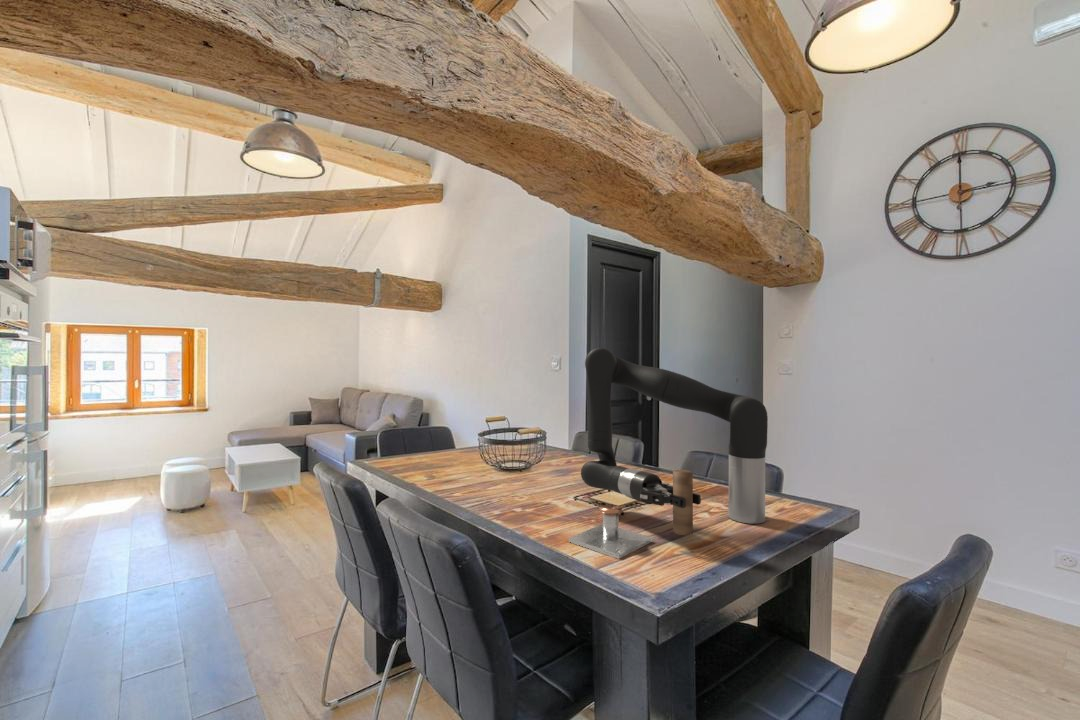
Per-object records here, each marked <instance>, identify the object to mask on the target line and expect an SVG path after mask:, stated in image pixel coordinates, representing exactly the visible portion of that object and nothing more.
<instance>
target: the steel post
mask: <svg viewBox="0 0 1080 720" xmlns="http://www.w3.org/2000/svg"><path fill="white" fill-rule="evenodd" d="M599 511H600V512H601V513H602V524H600V525H597V526H594V527H592V528H590V529H586V530H585V531H582V532H580V533H577V534H575V535H573V536H570V537H569V538H568V543H570V542H571V543H570V544H573V543H574V544H573V545H576V544H577V546H579V545H580V546H579V547H582V546H583V547H582V548H585V547H586V548H585V549H588V548H589V549H588V550H591V549H592V550H591V551H594V550H595V552H596V553H600V554H603V555H606V556H608V557H612V558H615V559H618V560H619V559H622V558H623V557H625V556H627V555H629V554H631V553H632V552H636V551H637V550H638V549H640V548H643V547H645V546H646V545H648V544H650V543H652V542H653V537H652V536H649V535H645V534H642V533H639V532H638V533H637V532H635V531H631V530H628V529H624V528H620V527H619V514H621V513H623V507H621V506H620V505H615V504H603V505H600V506H599Z"/></svg>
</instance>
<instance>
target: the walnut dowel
mask: <svg viewBox="0 0 1080 720" xmlns="http://www.w3.org/2000/svg"><path fill="white" fill-rule="evenodd" d="M693 474H694V472H693V471H691V470H687V469H675V470H672V485H673V495H676V496H680V497H683V498H685V499H686V507H685V508H681V507H678V506H675V505H672V510H673V511H672V516H673V518H672V526H673V527H672V529H673V530H672V531H673V533H674V534H676V535H679V536H691V535H693V534H694V503H693V493H694V489H693V487H694V486H693V485H694V484H693V483H694V480H693V479H694V478H693Z"/></svg>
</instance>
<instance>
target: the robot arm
mask: <svg viewBox="0 0 1080 720" xmlns="http://www.w3.org/2000/svg"><path fill="white" fill-rule="evenodd" d="M584 367H585V370H586V371H585V372H586V378H587V384H588V385H587V386H588V419H587V420H588V421H587V422H588V424H587V448H588V451H590V452H591V453H592V452H593V453H596V454H597V455H598V460H589V461H586V462H585V463H584V464H583V465H582V466H581V470H580V477H581V479H582V481H583V482H584V484H585V485H587V486H589V487H590V488H595V489H600V490H607V491H613V492H615V493H618V494H620V495H624V496H625V497H628V498H629V499H632V500H634V501H635V500H636V501H638V502H641V503H644V504H647V505H657V506H661V507H662V506H664V505H667V506H673V505H675V506H678V507H681V508H685V507H686V499H685V498H683V497H680V496H676V495H673V484H670V483H669V482H663V481H662V479H661V478H660V476H658V475H657V474H655V473H651V472H647V471H644V470H639V469H635V468H628V467H625V466H620V465H618V464H617V460H616V458H615V453H614V448H613V417H612V416H613V415H612V402H611V397H612V396H611V395H612V394H611V393H612V391H611V390H612V384H615V385H618V386H622V387H626V388H629V389H631V390H634V391H635V392H638V393H640V394H641V395H644V396H646V397H649V398H651V399H654V400H656V401H657V402H662V403H664V404H667V405H670V406H673V407H676V408H680V409H684V410H691V411H695V412H702V413H704V414H705V413H706V414H709V415H711V416H715V417H717V418H719V419H721V420H723V421H726V422H728V423H729V426H730V427H729V445H728V509H727V510H728V515H727V516H728V518H729V519H731V520H733V521H735V522H738V523H739V522H740V523H744V524H763V523H765V521H766V451H767V446H768V424H769V423H768V417H769V416H768V411H767V408H766V406H765V405H764V404H763V402H761V401H760V400H758V399H757V398H755V397H752V396H750V395H749V396H748V395H741V394H737V393H732V392H728V391H724V390H719V389H716V388H713V387H712V386H709V385H707V384H705V383H704V382H701V381H698V380H696V379H694V378H691V377H689V376H687V375H684V374H681V373H678V372H675V371H671V370H669V369H664V368H660V367H653V366H646V365H640V364H636V363H633V362H630V361H628V360H625V359H623V358H620V357H618V356H616V355H614V353H613V352H612V351H610V349H607V348H604V347H596V348H593V349H592V350H590V352H588V353H587V355H586V357H585V360H584ZM701 500H702V498H701V495H700V494H698V493H695V492H693V505H701V503H702V501H701Z"/></svg>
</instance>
